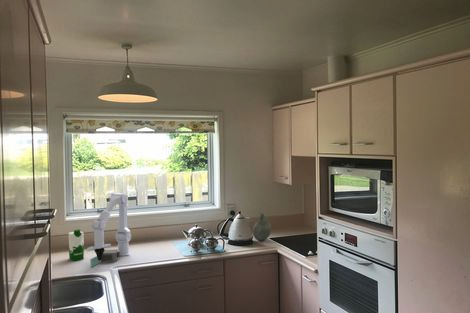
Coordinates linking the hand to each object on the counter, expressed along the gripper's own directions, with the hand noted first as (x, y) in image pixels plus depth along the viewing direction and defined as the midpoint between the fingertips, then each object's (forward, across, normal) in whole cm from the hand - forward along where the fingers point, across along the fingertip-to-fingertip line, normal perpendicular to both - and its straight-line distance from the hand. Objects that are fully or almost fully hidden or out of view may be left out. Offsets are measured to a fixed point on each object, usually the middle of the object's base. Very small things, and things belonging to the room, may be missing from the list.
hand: (99, 260), depth 241 cm
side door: (+3, +2, -2) cm, 4 cm away
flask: (+4, -121, +24) cm, 124 cm away
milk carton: (+3, +7, -23) cm, 24 cm away
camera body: (+3, -9, -6) cm, 11 cm away
